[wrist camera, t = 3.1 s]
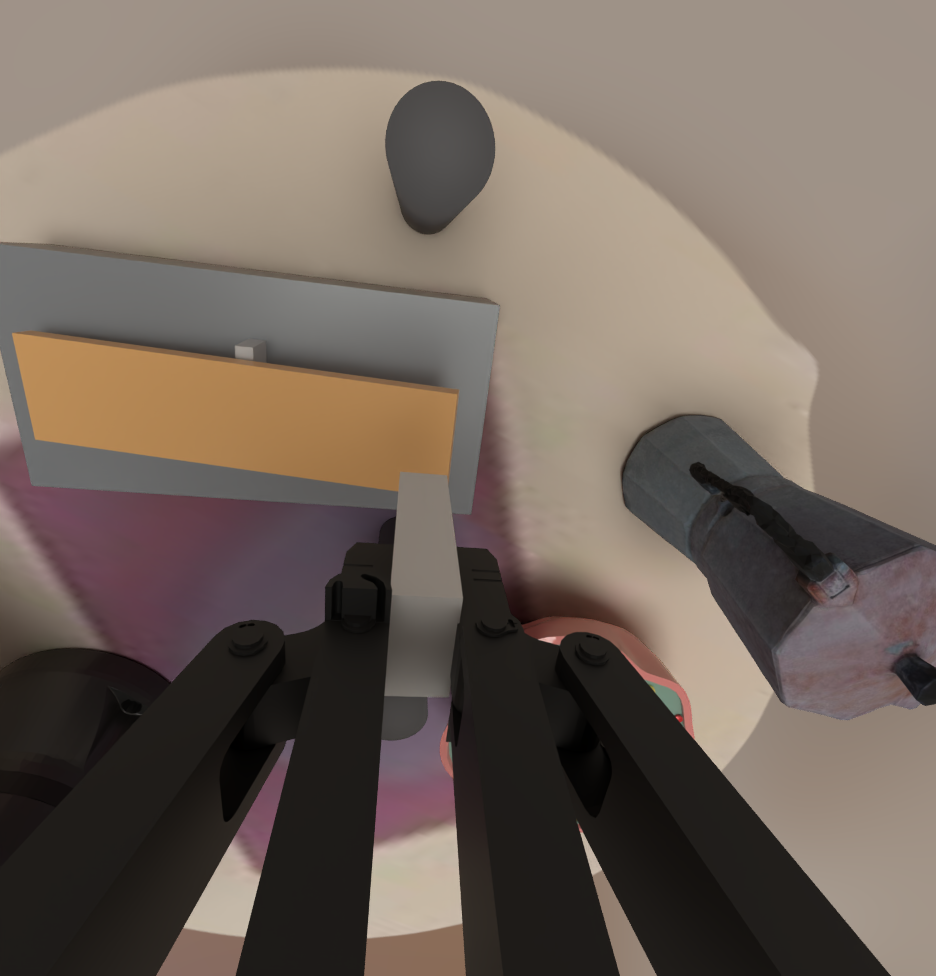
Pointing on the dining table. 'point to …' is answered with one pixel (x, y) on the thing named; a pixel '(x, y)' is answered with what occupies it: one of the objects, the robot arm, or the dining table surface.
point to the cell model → (631, 648)
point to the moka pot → (793, 571)
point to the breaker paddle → (234, 411)
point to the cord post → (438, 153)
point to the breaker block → (242, 355)
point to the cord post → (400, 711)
